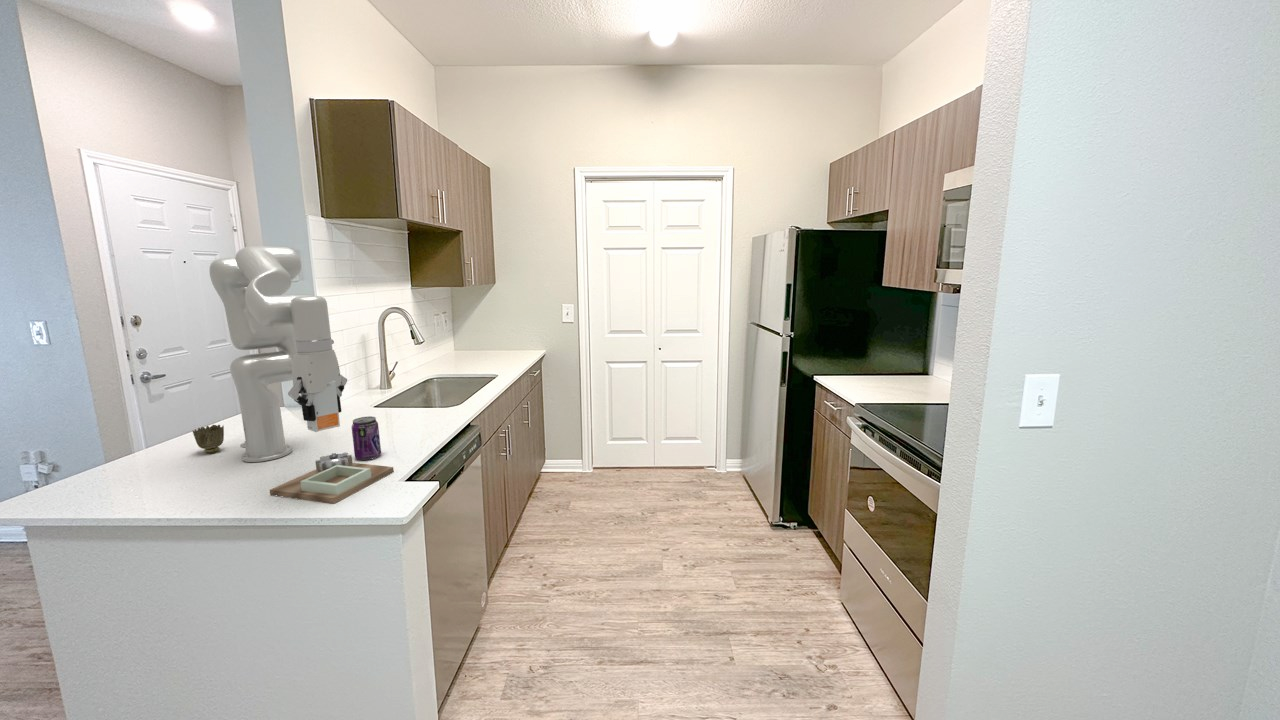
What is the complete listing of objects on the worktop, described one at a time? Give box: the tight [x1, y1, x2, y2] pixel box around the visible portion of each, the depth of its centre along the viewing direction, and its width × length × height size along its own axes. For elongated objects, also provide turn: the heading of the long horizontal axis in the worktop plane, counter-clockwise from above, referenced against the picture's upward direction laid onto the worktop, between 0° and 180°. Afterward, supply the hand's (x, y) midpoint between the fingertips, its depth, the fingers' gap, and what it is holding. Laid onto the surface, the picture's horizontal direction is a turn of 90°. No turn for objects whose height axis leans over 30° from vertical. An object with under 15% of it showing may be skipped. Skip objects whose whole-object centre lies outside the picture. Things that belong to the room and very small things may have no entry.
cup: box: [192, 424, 225, 454], centre depth 157 cm, size 8×7×8 cm
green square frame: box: [300, 465, 371, 495], centre depth 129 cm, size 11×11×2 cm
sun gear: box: [314, 452, 353, 472], centre depth 140 cm, size 9×9×4 cm
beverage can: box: [351, 416, 382, 461], centre depth 151 cm, size 7×7×12 cm
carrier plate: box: [269, 462, 395, 505], centre depth 133 cm, size 20×20×2 cm
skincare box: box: [306, 381, 341, 433], centre depth 126 cm, size 6×4×12 cm
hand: (323, 415), depth 126 cm, fingers closed on skincare box, 6 cm apart
